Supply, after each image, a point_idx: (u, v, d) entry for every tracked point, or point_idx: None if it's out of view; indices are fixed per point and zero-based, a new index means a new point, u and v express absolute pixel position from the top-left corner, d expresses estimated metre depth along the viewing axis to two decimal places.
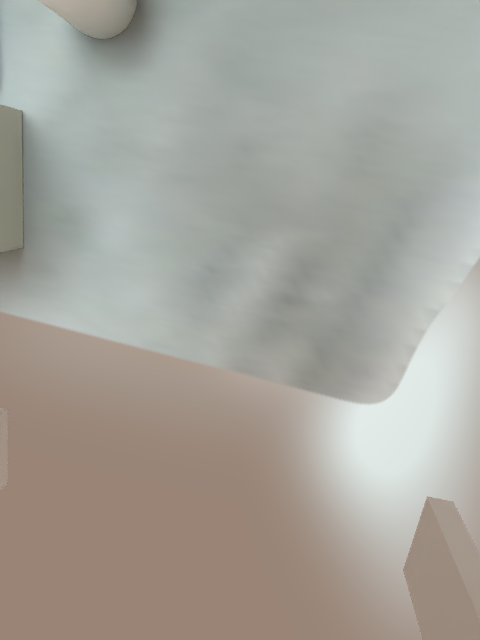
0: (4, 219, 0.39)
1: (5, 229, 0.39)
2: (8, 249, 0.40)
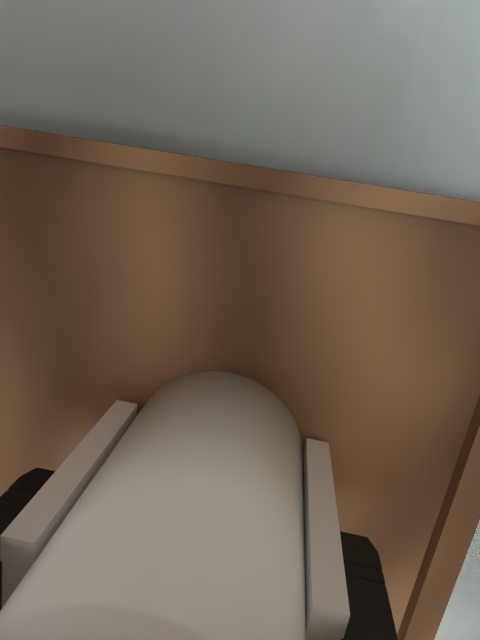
0: None
1: None
2: None
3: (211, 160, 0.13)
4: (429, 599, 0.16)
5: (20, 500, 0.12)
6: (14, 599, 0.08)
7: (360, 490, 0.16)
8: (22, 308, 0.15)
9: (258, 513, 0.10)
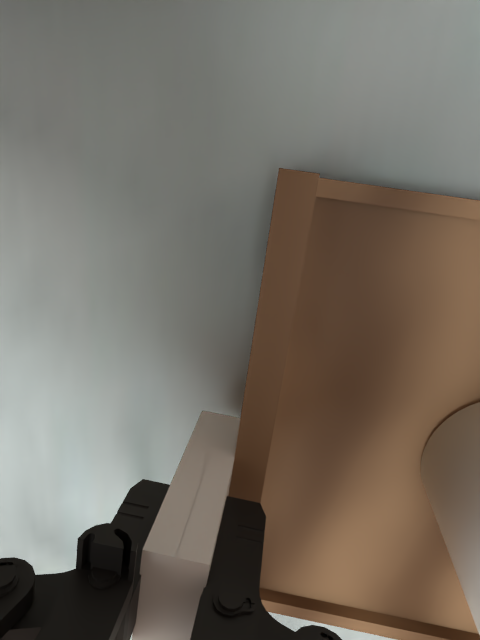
0: None
1: None
2: None
3: None
4: None
5: (138, 513, 0.12)
6: None
7: None
8: (331, 340, 0.17)
9: None
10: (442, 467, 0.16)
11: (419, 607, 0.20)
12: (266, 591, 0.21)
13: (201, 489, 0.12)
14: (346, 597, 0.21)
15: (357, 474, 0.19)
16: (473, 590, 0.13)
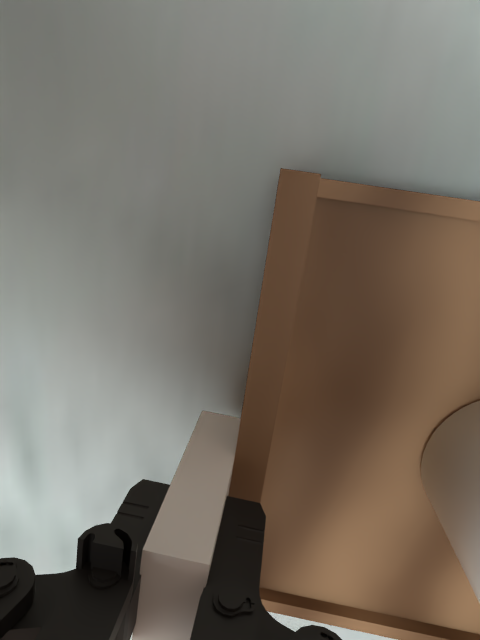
0: None
1: None
2: None
3: None
4: None
5: (138, 513, 0.12)
6: None
7: None
8: (331, 340, 0.17)
9: None
10: (444, 468, 0.16)
11: (418, 607, 0.20)
12: (265, 590, 0.21)
13: (201, 489, 0.12)
14: (345, 597, 0.21)
15: (356, 474, 0.19)
16: None
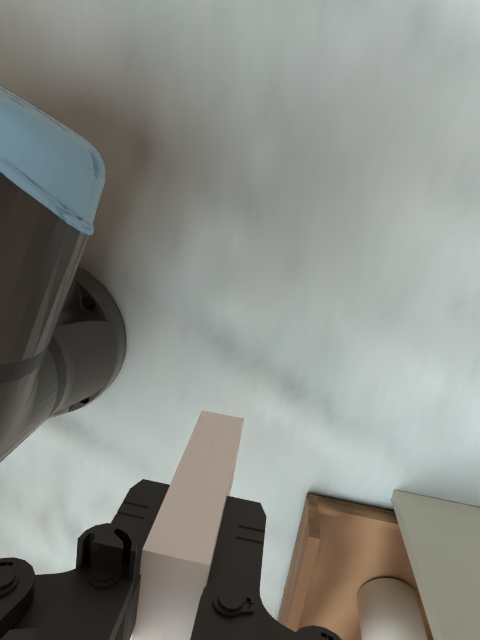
0: None
1: None
2: None
3: (396, 524, 0.44)
4: None
5: (138, 512, 0.12)
6: None
7: None
8: (323, 553, 0.47)
9: (411, 637, 0.40)
10: (359, 611, 0.46)
11: None
12: None
13: (201, 489, 0.12)
14: None
15: (332, 599, 0.48)
16: None
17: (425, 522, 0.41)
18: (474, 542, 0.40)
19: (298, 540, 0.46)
